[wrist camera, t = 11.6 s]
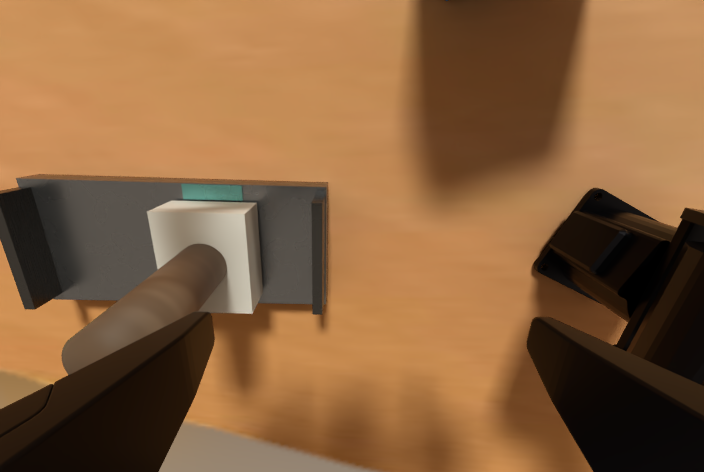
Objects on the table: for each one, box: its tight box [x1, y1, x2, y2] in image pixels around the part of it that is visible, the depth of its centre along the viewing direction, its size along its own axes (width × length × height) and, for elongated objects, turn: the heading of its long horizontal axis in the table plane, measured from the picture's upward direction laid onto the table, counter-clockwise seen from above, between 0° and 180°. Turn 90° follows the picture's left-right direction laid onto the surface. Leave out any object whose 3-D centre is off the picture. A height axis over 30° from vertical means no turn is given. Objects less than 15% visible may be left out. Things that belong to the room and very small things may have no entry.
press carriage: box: [62, 201, 263, 375], centre depth 15 cm, size 5×6×10 cm
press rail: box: [0, 174, 328, 315], centre depth 20 cm, size 18×8×4 cm, turn 88°
